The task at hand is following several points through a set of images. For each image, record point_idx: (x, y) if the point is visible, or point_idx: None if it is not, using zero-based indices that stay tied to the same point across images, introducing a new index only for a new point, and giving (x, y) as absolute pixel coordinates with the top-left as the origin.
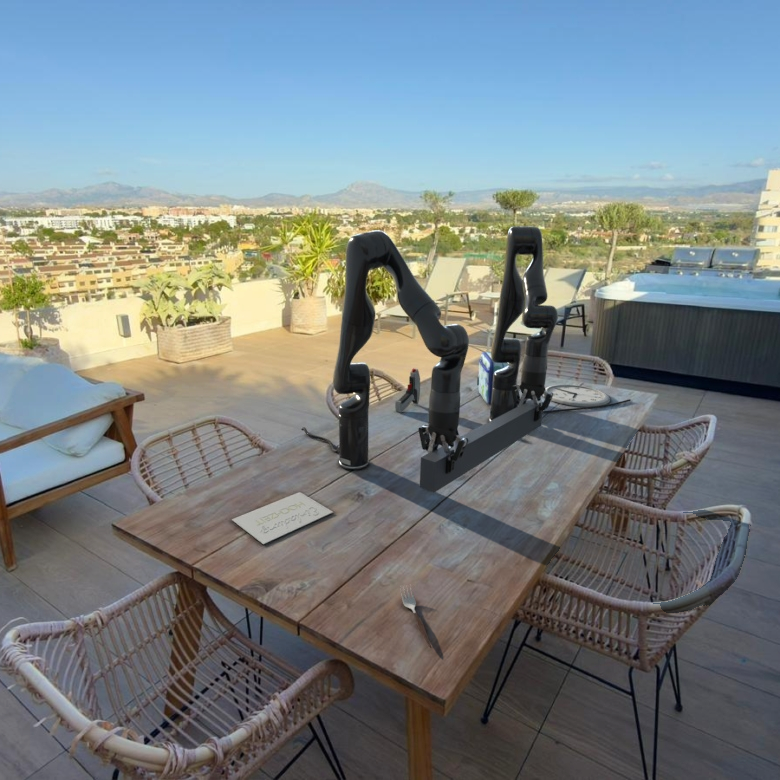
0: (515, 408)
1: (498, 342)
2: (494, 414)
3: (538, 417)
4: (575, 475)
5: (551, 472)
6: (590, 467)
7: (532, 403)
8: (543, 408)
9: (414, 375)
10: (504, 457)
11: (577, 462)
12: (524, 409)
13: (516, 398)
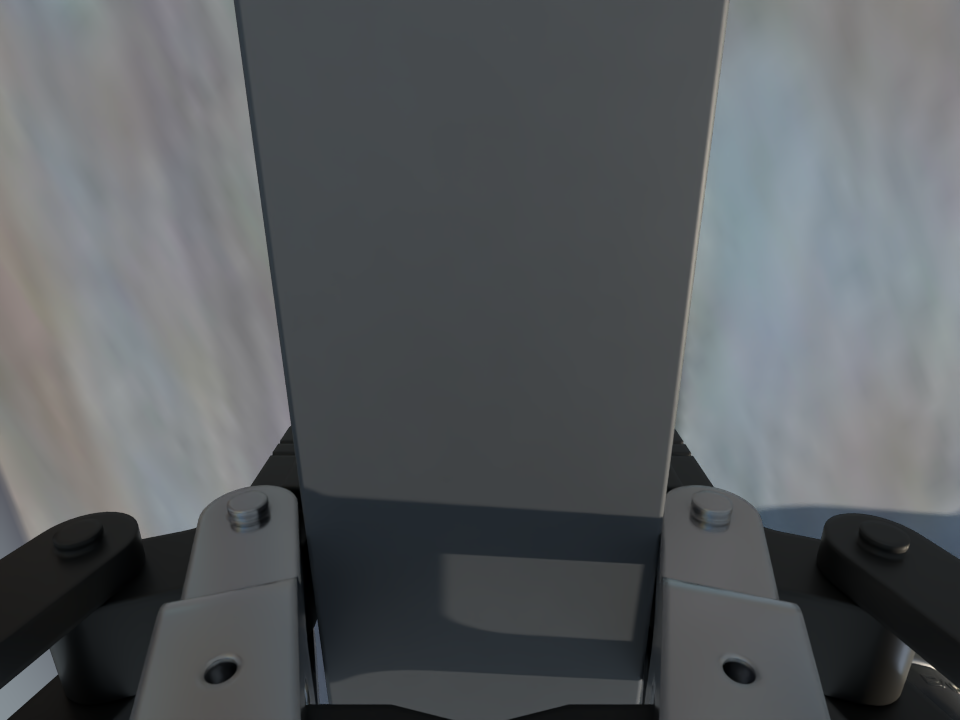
0: (697, 14)
1: None
2: (958, 714)
3: (282, 439)
4: (52, 246)
5: (196, 169)
6: (70, 436)
7: (491, 713)
8: (54, 551)
9: None
10: None
11: (172, 452)
12: (412, 153)
13: (938, 628)
